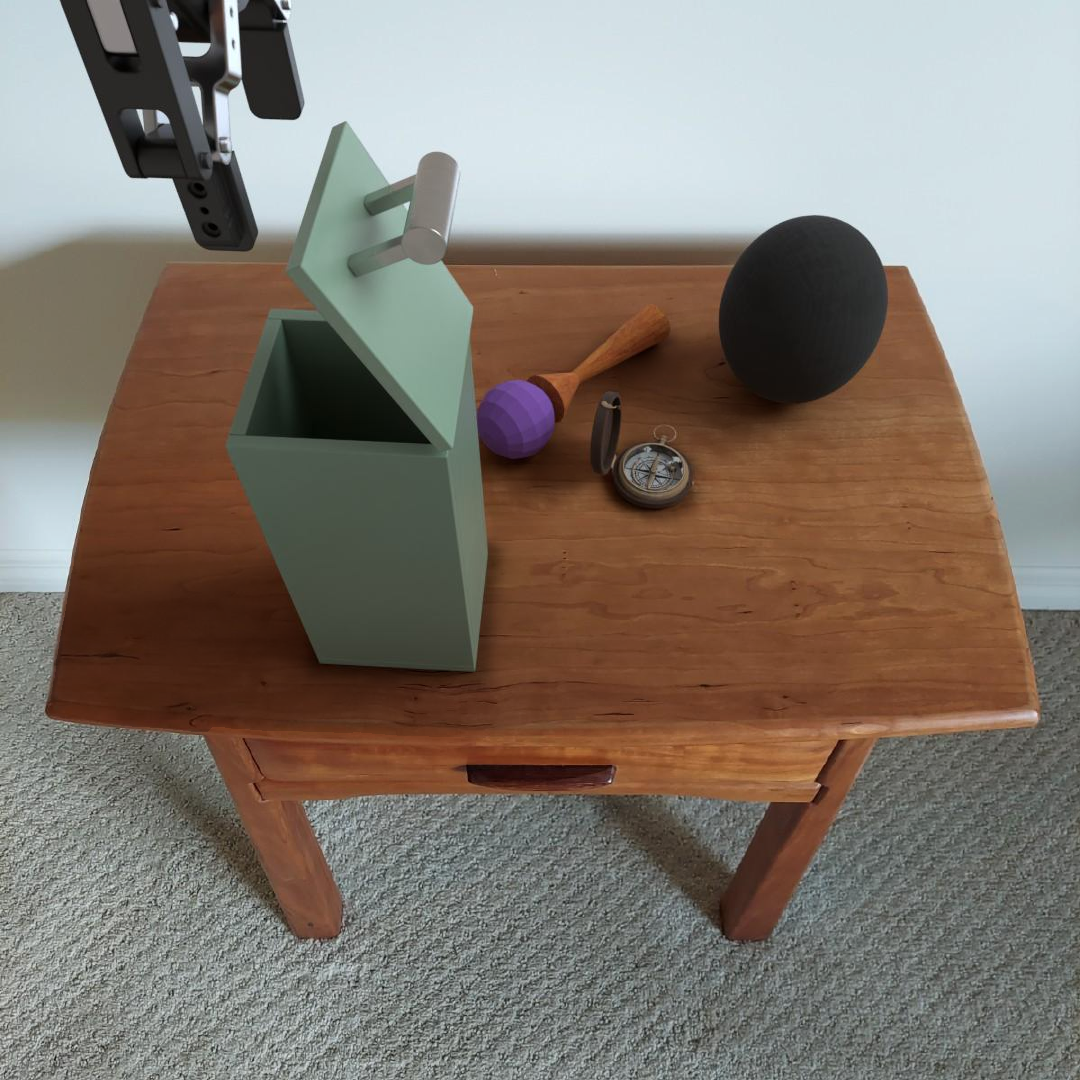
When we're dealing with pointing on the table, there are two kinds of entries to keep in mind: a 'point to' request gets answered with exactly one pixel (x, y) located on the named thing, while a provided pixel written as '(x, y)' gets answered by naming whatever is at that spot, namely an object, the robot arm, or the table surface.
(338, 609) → the trash can
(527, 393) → the kendama
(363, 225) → the bin lid
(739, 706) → the table surface
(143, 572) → the table surface
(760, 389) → the decorative egg
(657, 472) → the compass
